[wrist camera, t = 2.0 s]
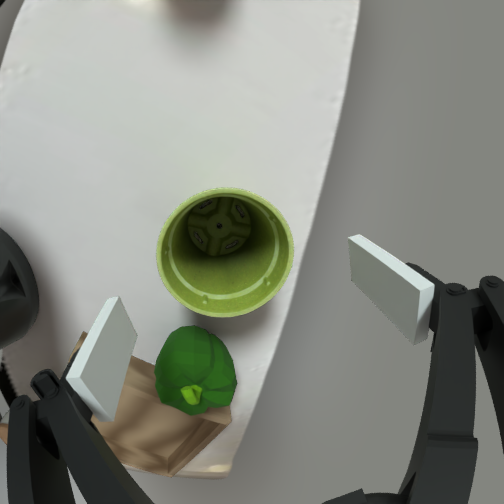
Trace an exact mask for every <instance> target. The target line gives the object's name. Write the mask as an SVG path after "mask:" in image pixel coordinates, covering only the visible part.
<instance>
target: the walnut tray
mask: <svg viewBox="0 0 504 504" xmlns="http://www.w3.org/2000/svg"><path fill="white" fill-rule="evenodd" d="M87 335H88V334H87V333H86V332H84V331H83V333H82V335H81V337H80V339H79V341H78V342H77V344H76V346H75V348H74V350H73V352H72V354H71V356H70V358H69V362H70V359H71V357H72V356H73V354H74V353H75V352H76V351H77V349H78V348H79V347H81V346H82V345H83V343H84V341H85V339H86V337H87ZM69 362H68V363H69ZM154 369H155V366H154V365H152V364H150V363H147V362H145V361H143V360H140V359H138V358H136V357H134V356H132V355H131V358H130V362H129V365H128V369H127V372H126V376H125V379H124V383H123V387H122V390H121V394H120V398H119V402H118V406H117V410H116V414H115V418H114V421H112V422H99V420H98V419H97V418H96V417H95V416H94V415H92V418H91V421H92V422H93V423H94V424H95V426H96V427H97V429H98V430H99V432H100V434H101V435H102V437H103V438H104V440H105V441H106V443H107V444H108V446H109V447H110V449H111V450H112V451H113V453H114V454H115V456H116V457H117V458H118V460H119V461H120V462H121V463H123V464H126V465H129V466H132V467H135V468H138V469H142V470H145V471H149V472H152V473H156V474H160V475H163V476H167V477H172V476H174V475H175V474H176V473H177V472H178V471H179V470H181V469H182V468H183V467H184V466H185V465H186V464H187V463H188V462H190V461H191V460H192V459H193V458H194V457H195V456H196V455H197V454H198V453H199V452H200V451H202V450H203V449H204V448H205V447H206V446H207V445H208V444H209V443H210V442H211V441H212V440H213V439H214V438H215V437H216V436H217V435H218V434H219V433H220V432H221V431H222V430H223V429H224V428H225V427H226V426H227V425H228V424H229V423H230V422H231V421H232V420H231V413H230V406H225V407H219V408H213V407H208V408H207V409H206V411H205V413H202V414H197V415H192V416H190V415H188V414H186V413H184V412H182V411H180V410H178V409H176V408H174V407H171V406H168V405H165V404H162V403H161V401H160V399H159V397H158V394H157V391H156V388H155V382H156V376H155V374H154Z"/></svg>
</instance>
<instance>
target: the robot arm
mask: <svg viewBox="0 0 504 504" xmlns="http://www.w3.org/2000/svg"><path fill="white" fill-rule="evenodd" d="M348 244H349V255H350V267H351V281H352V282H353V283H354V284H355V285H356V286H357V287H358V288H359V289H360V290H361V291H362V292H363V293H364V294H365V295H366V296H367V297H368V298H369V299H370V300H371V301H372V302H373V303H374V304H375V305H376V306H377V307H378V308H379V309H380V310H381V311H382V312H383V313H384V314H385V315H386V316H387V317H388V319H390V321H392V323H393V324H394V325H395V326H396V327H397V328H398V329H399V330H400V331H401V332H402V333H403V334H404V335H405V337H406V338H407V339H409V341H410V342H411V343H412V344H413V345H416V344H418V343H420V342H422V341H424V340H426V339H427V337H428V331H429V328H430V329H431V330H432V331H433V332H434V336H433V342H432V347H431V352H432V355H431V363H430V371H429V378H428V385H427V391H426V397H425V402H424V407H423V412H422V417H421V422H420V426H419V430H418V435H417V438H416V442H415V446H414V450H413V454H412V457H411V460H410V464H409V467H408V470H407V473H406V475H405V478H404V480H403V482H402V484H401V487H400V489H399V492H398V494H393V493H370V494H364V492H363V490H362V489H359V490H356V491H354V492H351V493H348V494H346V495H343V496H340V497H337V498H334V499H331V500H328V501H326V502H324V503H322V504H468V500H469V496H470V491H471V487H472V482H473V477H474V472H475V466H476V459H477V452H478V440H477V438H474V436H473V429H474V418H475V398H476V361H475V346H476V349H477V352H478V355H479V357H480V360H481V363H482V366H483V369H484V372H485V375H486V379H487V382H488V386H489V389H490V392H491V396H492V400H493V404H494V408H495V411H496V416H497V421H498V425H499V430H500V435H501V441H502V447H503V453H504V281H502V280H501V279H500V278H498V277H496V276H485V277H483V278H482V279H481V280H480V284H479V288H476V289H471V290H468V289H467V288H466V287H465V286H463V285H461V284H457V283H448V284H444V283H443V282H441V281H440V280H438V279H437V278H435V277H434V276H432V275H431V274H429V273H428V272H427V271H424V269H422V268H420V267H419V266H417V265H415V264H411V263H406V264H404V263H403V262H401V261H400V260H398V259H397V258H395V257H394V256H392V255H391V254H389V253H388V252H386V251H385V250H383V249H382V248H380V247H379V246H377V245H376V244H374V243H373V242H371V241H369V240H368V239H366V238H364V237H363V236H361V235H355V236H351V237H348ZM38 307H39V299H38V291H37V286H36V282H35V278H34V275H33V273H32V270H31V268H30V265H29V263H28V261H27V259H26V257H25V256H24V254H23V252H22V251H21V249H20V248H19V246H18V245H17V244H16V243H15V241H14V240H13V239H12V238H11V237H10V236H9V235H8V234H7V233H6V232H4V231H3V230H2V229H0V349H2V348H4V347H6V346H8V345H9V344H11V343H13V342H15V341H17V340H19V339H21V338H22V337H23V336H24V335H25V334H26V333H27V332H28V330H29V329H30V328H31V326H32V325H33V324H34V322H35V320H36V317H37V314H38ZM137 336H138V335H137V333H136V331H135V329H134V327H133V325H132V323H131V321H130V319H129V317H128V314H127V312H126V310H125V308H124V306H123V304H122V301H121V299H120V297H119V296H117V297H113V298H109V299H107V301H106V303H105V305H104V306H103V308H102V310H101V312H100V313H99V315H98V317H97V319H96V320H95V322H94V324H93V326H92V328H91V330H90V331H89V333H88V335H87V337H86V339H85V341H84V343H83V345H82V346H81V347H79V348H78V349H77V351H76V352H75V353H74V354H73V356H72V357H71V359H70V362H69V363H68V365H67V368H66V369H65V371H64V373H63V375H62V377H61V379H60V381H59V379H58V378H57V376H56V375H55V374H54V372H53V371H52V370H51V369H45V370H42V371H40V372H39V373H37V374H36V375H35V376H34V377H33V379H32V381H31V387H32V389H33V390H34V391H35V393H36V394H37V395H38V396H39V398H40V399H41V400H38V401H35V402H32V401H31V399H30V398H29V397H28V396H27V395H21V396H19V397H17V398H15V399H14V400H13V402H12V404H11V406H10V412H9V422H8V436H7V488H8V501H9V504H76V503H75V499H74V495H73V491H72V487H71V483H70V478H69V474H68V469H67V466H68V468H69V470H70V473H71V475H72V477H73V479H74V480H75V482H76V484H77V486H78V488H79V490H80V492H81V493H82V495H83V497H84V499H85V500H86V502H87V504H154V503H153V502H152V500H151V499H150V498H149V497H148V496H147V495H146V494H145V493H144V491H143V490H142V489H141V488H140V487H139V486H138V484H137V483H136V482H135V481H134V479H133V478H132V477H131V476H130V474H129V473H128V472H127V470H126V469H125V468H124V466H123V465H122V464H121V462H120V461H119V460H118V458H117V457H116V456H115V454H114V453H113V451H112V450H111V449H110V447H109V446H108V444H107V443H106V441H105V440H104V438H103V437H102V435H101V434H100V432H99V430H98V429H97V427H96V426H95V424H94V423H93V422H92V421H91V418H92V415H94V416H95V417H96V418H97V419H98V420H99V422H112V421H114V418H115V414H116V410H117V406H118V402H119V398H120V394H121V390H122V387H123V383H124V379H125V376H126V372H127V369H128V365H129V362H130V358H131V355H132V352H133V349H134V345H135V342H136V339H137Z"/></svg>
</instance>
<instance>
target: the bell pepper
mask: <svg viewBox="0 0 504 504" xmlns="http://www.w3.org/2000/svg"><path fill="white" fill-rule="evenodd" d="M154 374H155V376H156V382H155V388H156V391H157V394H158V397H159V399H160V401H161V403H162V404H165V405H168V406H171V407H174V408H176V409H178V410H180V411H182V412H184V413H186V414H188V415H190V416H192V415H197V414H202V413H205V411H206V409H207V408H208V407H213V408H219V407H225V406H229V405H230V403H231V401H232V398H233V395H234V392H235V389H236V385H237V380H236V375H235V369H234V364H233V360H232V358H231V356H230V354H229V352H228V350H227V348H226V346H225V345H224V343H223V342H222V341H221V340H220V339H219V338H218V337H216V336H215V335H213V334H208V332H207V331H206V330H205V329H202V328H200V327H198V326H195V325H194V326H185V327H180V328H178V329H177V330H175V331H174V332H172V333H171V334H170V335H169V337H168V338H167V340H166V342H165V344H164V346H163V348H162V349H161V351H160V354H159V356H158V358H157V360H156V364H155V369H154Z"/></svg>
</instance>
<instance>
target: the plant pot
mask: <svg viewBox="0 0 504 504" xmlns="http://www.w3.org/2000/svg"><path fill="white" fill-rule="evenodd" d="M209 200H212V203H211V204H209V205H207V206H205V207H204V208H202V209H201V210H200V207H201V206H202V205H203V203H205V202H207V201H209ZM235 206H239V207H240V208H241V210H242V211H243V213H244V217H243V218H242V217H241V215H240V213H239V211H238V210H237V209H236V207H235ZM218 223H221V224H222V227H221V228H218V227H217V224H218ZM195 232H197V233H198V235H199V237H200V238H201V240H202V241H203V242H204V243H202V244H201V243H200V242H199V241H198V240H197V239H196V238H195V235H194V233H195ZM235 240H238V243H237V244H236V245H235V246H233V247H231V248H228V249H227V248H226V246H227V245H229V244H231V243H233V242H234V241H235ZM293 257H294V243H293V237H292V234H291V231H290V228H289V226H288V224H287V222H286V220H285V219H284V217H283V215H282V214H281V213H280V212H279V210H278V209H277V208H276V207H275V206H273V205H272V204H271V203H270V202H269V201H267V200H266V199H264V198H262V197H261V196H259V195H257V194H255V193H252V192H250V191H246V190H243V189H237V188H216V189H210V190H206V191H203V192H201V193H198V194H196V195H194V196H192V197H190V198H189V199H187V200H186V201H184V202H183V203H182V204H180V205H179V206H178V207H177V208H176V209H175V210H174V211H173V212H172V214H171V215H170V216H169V218H168V219H167V221H166V222H165V224H164V226H163V228H162V230H161V232H160V235H159V238H158V243H157V250H156V260H157V267H158V271H159V274H160V277H161V279H162V281H163V283H164V285H165V287H166V288H167V290H168V291H169V292H170V293H171V295H172V296H173V297H174V298H175V299H176V300H177V301H178V302H180V303H181V304H182V305H184V306H185V307H187V308H188V309H190V310H192V311H194V312H196V313H200V314H203V315H207V316H211V317H235V316H239V315H243V314H246V313H249V312H251V311H254V310H255V309H257V308H259V307H261V306H262V305H264V304H265V303H267V302H268V301H269V300H270V299H272V298H273V297H274V296H275V295H276V294H277V292H278V291H279V290H280V289H281V287H282V286H283V284H284V283H285V281H286V279H287V277H288V275H289V272H290V270H291V268H292V263H293Z"/></svg>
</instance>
